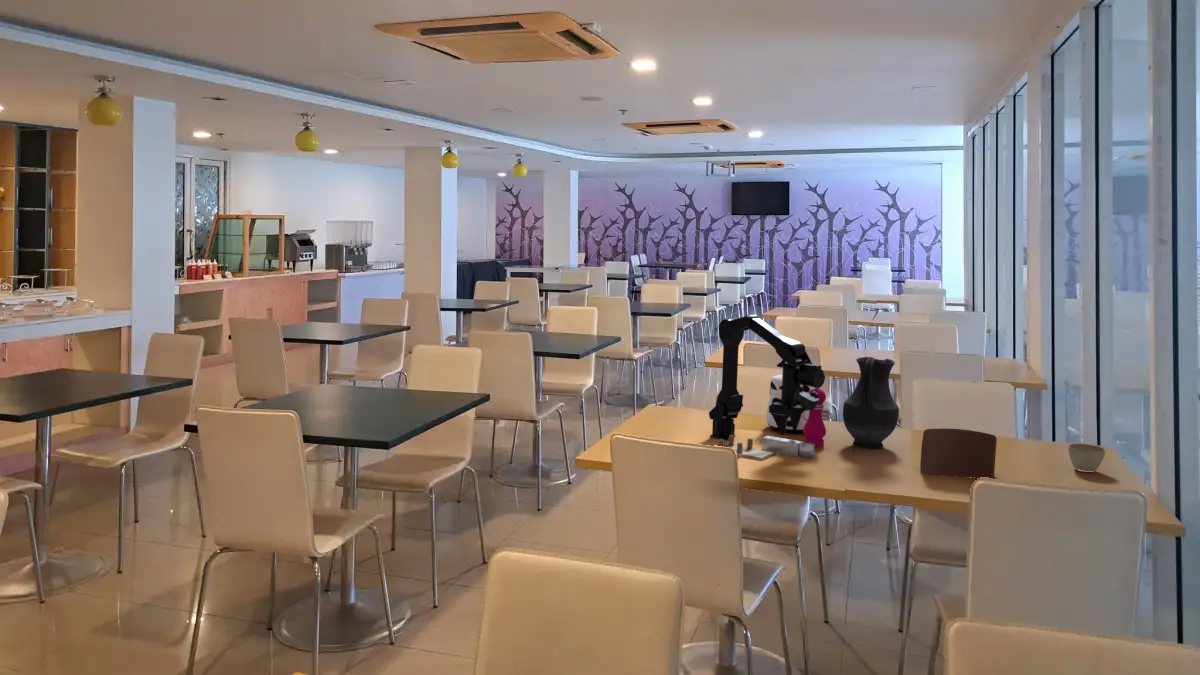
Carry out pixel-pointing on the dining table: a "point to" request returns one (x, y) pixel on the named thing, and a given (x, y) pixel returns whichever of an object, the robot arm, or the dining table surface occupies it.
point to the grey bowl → (1086, 456)
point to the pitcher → (871, 405)
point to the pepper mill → (816, 421)
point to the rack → (746, 449)
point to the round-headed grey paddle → (788, 446)
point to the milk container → (774, 397)
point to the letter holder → (958, 453)
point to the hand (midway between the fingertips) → (788, 432)
